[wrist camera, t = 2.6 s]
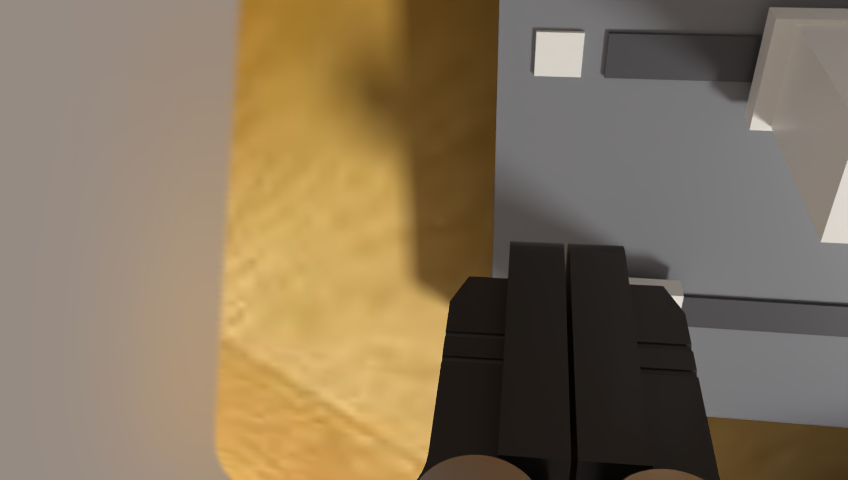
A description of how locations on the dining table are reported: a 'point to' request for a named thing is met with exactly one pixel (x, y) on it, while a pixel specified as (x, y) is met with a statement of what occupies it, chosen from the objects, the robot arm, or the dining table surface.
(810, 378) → the switch console
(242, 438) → the dining table surface
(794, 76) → the lever middle
